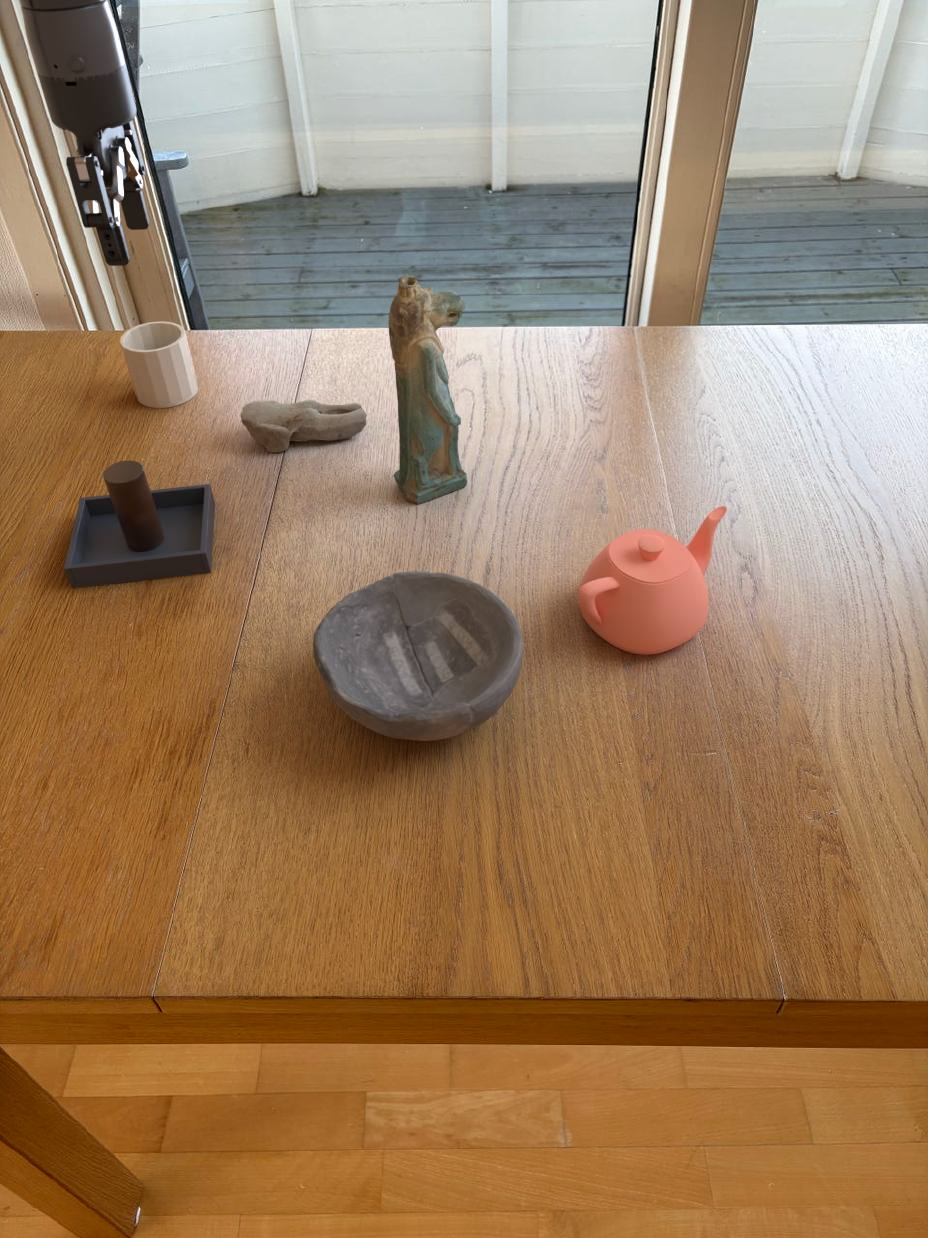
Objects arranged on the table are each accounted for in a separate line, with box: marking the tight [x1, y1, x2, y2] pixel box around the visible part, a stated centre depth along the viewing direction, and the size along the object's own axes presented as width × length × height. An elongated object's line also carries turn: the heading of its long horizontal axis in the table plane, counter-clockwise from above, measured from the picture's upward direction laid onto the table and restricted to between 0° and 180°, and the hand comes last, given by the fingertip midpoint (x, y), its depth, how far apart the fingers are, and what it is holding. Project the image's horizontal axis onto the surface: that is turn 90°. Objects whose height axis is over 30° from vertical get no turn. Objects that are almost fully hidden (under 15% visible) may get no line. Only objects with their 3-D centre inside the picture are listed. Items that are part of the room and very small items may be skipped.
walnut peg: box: [102, 459, 164, 552], centre depth 99 cm, size 4×4×9 cm
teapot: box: [577, 505, 728, 656], centre depth 90 cm, size 12×18×10 cm
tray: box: [63, 483, 216, 589], centre depth 102 cm, size 14×12×3 cm
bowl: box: [312, 571, 524, 742], centre depth 83 cm, size 18×18×8 cm
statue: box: [388, 275, 468, 505], centre depth 101 cm, size 7×8×25 cm
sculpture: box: [240, 399, 367, 453], centre depth 116 cm, size 7×5×15 cm
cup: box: [119, 320, 199, 409], centre depth 123 cm, size 8×8×8 cm
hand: (129, 245), depth 94 cm, fingers open, 8 cm apart
